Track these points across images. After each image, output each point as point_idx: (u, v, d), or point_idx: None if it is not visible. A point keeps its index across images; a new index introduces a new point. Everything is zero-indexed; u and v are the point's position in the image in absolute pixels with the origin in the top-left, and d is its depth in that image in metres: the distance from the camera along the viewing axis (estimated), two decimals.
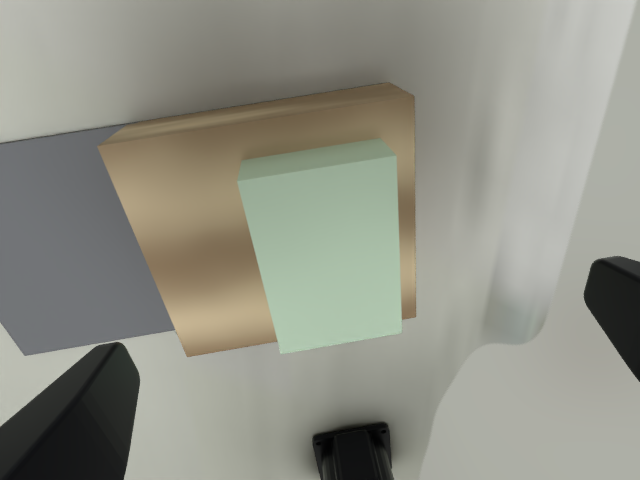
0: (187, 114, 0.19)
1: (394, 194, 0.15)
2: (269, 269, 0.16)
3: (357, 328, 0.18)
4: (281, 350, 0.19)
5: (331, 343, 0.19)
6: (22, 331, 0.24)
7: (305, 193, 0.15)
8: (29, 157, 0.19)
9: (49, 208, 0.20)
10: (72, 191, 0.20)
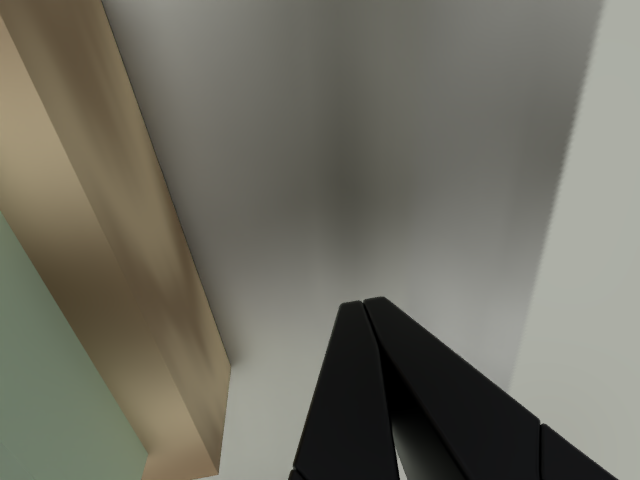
0: None
1: None
2: None
3: None
4: None
5: None
6: None
7: None
8: None
9: None
10: None
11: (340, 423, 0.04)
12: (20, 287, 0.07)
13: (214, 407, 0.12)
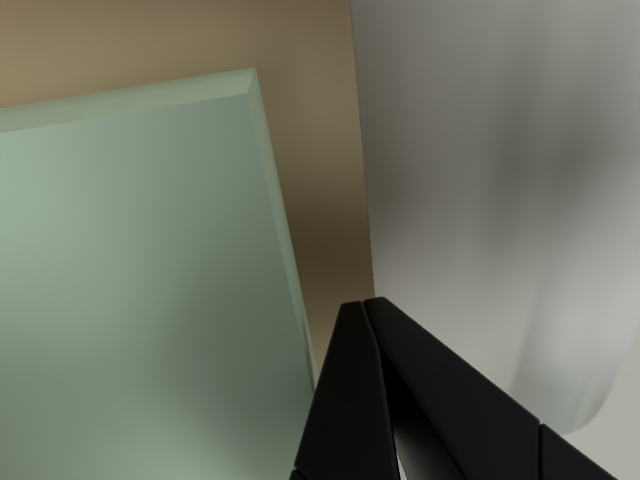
0: None
1: (266, 233, 0.05)
2: None
3: None
4: None
5: None
6: None
7: None
8: None
9: None
10: None
11: (341, 423, 0.04)
12: (291, 246, 0.07)
13: None
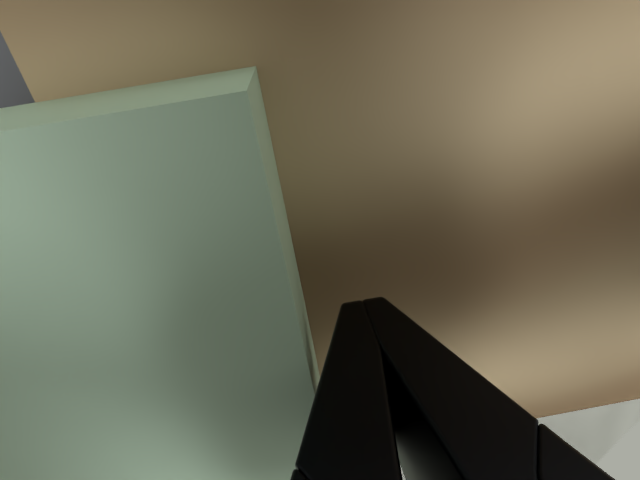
0: None
1: (266, 229, 0.05)
2: None
3: None
4: None
5: None
6: None
7: None
8: None
9: None
10: None
11: (342, 422, 0.04)
12: (291, 244, 0.07)
13: None
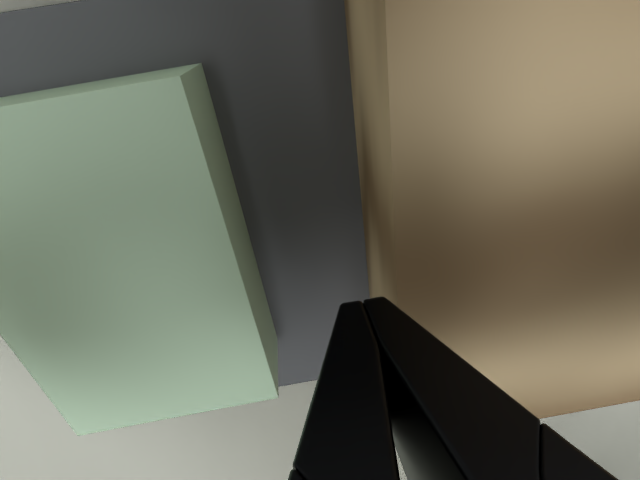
0: None
1: None
2: None
3: None
4: (274, 333, 0.14)
5: None
6: None
7: None
8: (123, 37, 0.09)
9: None
10: None
11: (340, 423, 0.04)
12: None
13: None
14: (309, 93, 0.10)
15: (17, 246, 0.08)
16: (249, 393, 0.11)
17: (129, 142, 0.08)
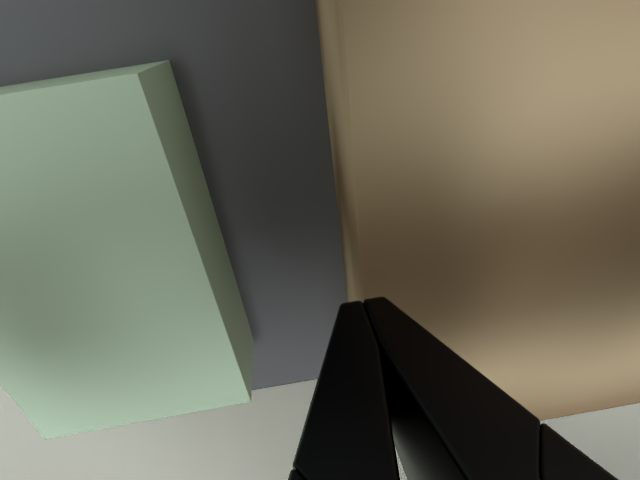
0: None
1: None
2: None
3: None
4: (250, 336, 0.13)
5: None
6: None
7: None
8: (87, 33, 0.09)
9: None
10: None
11: (340, 423, 0.04)
12: None
13: None
14: (281, 92, 0.10)
15: None
16: (221, 397, 0.11)
17: (87, 141, 0.07)
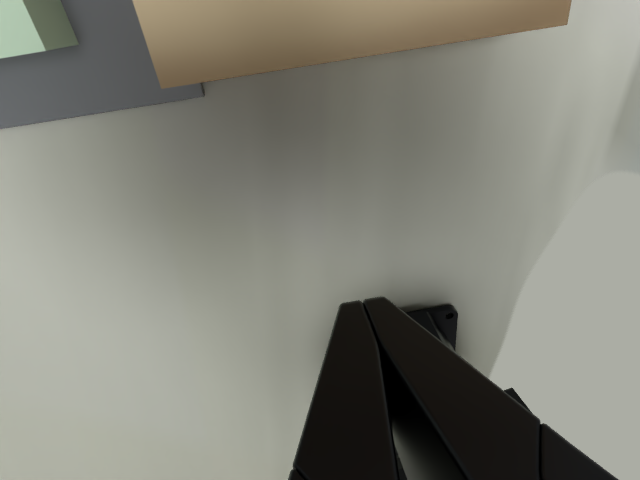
0: None
1: None
2: None
3: None
4: None
5: None
6: None
7: None
8: None
9: None
10: None
11: (340, 423, 0.04)
12: None
13: None
14: None
15: None
16: (13, 40, 0.12)
17: None
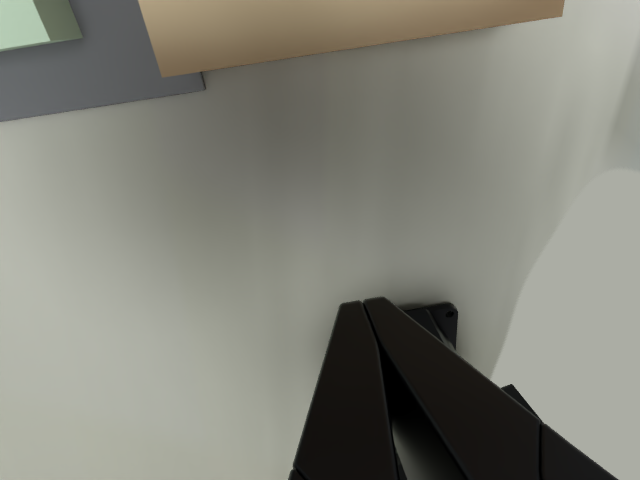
0: None
1: None
2: None
3: None
4: None
5: None
6: None
7: None
8: None
9: None
10: None
11: (340, 423, 0.04)
12: None
13: None
14: None
15: None
16: (19, 30, 0.12)
17: None
